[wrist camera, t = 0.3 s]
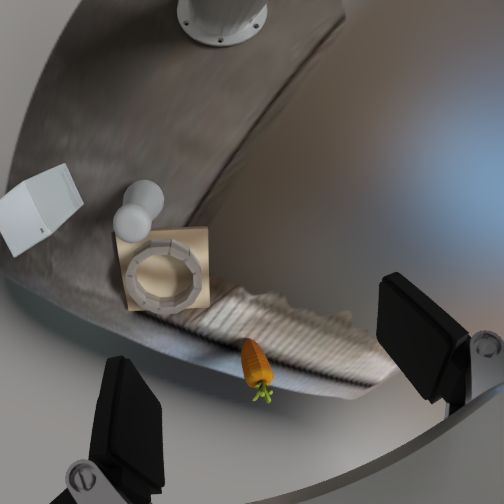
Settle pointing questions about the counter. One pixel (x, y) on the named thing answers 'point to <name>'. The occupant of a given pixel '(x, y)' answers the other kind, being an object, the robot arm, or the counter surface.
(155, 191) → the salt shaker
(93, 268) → the counter surface
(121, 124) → the counter surface
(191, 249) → the ring holder
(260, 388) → the carrot
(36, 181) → the supplement box
